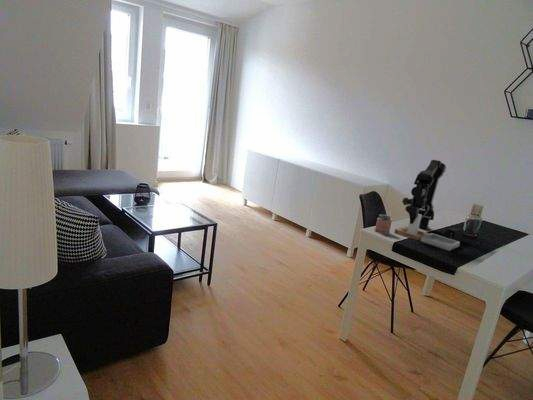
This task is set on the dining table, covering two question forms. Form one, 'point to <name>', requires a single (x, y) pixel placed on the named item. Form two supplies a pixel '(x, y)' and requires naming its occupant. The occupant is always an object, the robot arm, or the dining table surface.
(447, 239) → the tray
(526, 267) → the dining table surface
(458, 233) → the digital camera
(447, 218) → the dining table surface
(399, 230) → the socket block
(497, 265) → the dining table surface
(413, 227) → the skincare box
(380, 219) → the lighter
